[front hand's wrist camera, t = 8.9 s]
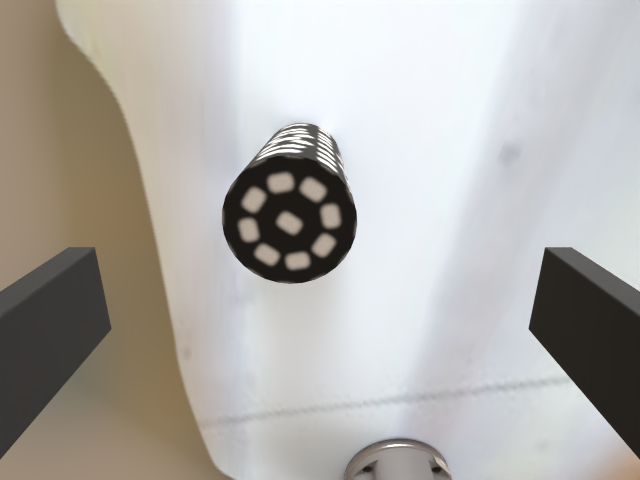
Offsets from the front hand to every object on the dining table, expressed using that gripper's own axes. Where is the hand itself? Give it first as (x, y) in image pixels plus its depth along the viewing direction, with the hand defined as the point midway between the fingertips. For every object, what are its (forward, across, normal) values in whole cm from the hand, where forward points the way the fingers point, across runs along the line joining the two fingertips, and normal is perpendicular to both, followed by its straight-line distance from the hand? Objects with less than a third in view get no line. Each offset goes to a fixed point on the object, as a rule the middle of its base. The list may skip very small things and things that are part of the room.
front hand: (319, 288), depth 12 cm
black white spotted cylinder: (+23, +2, +2) cm, 23 cm away
